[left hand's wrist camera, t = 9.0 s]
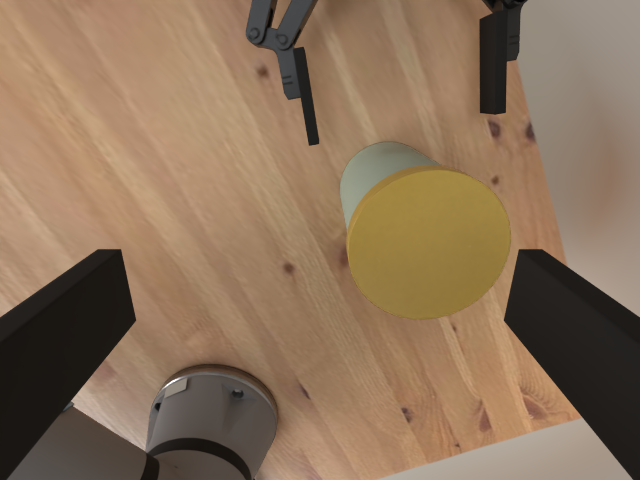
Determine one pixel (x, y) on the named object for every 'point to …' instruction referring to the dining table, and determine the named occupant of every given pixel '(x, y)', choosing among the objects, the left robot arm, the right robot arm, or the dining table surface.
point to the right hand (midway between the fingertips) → (402, 128)
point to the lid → (427, 242)
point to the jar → (375, 171)
